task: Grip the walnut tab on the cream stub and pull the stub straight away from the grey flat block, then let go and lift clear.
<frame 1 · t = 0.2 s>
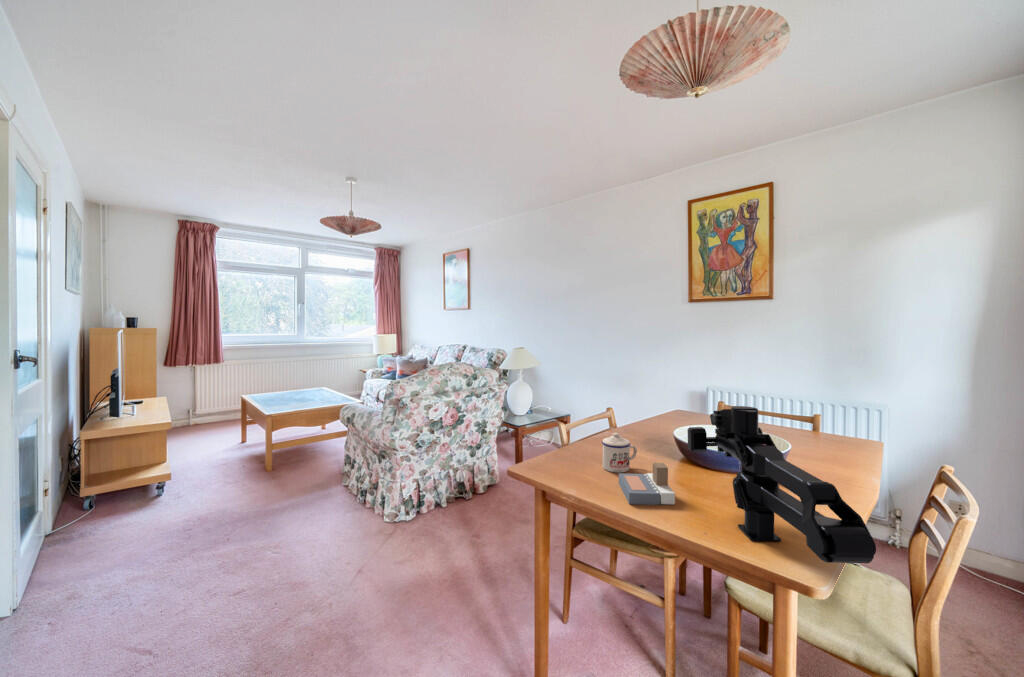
hand: (710, 431, 117), 17 cm above the table, tool horizontal, fingers open, 9 cm apart
grey flat block: (637, 493, 115), on the table
stub: (660, 479, 115), point 4 cm above the table, slide at 0.0 cm
soda can: (752, 474, 130), on the table
teacup with lid: (619, 468, 135), on the table
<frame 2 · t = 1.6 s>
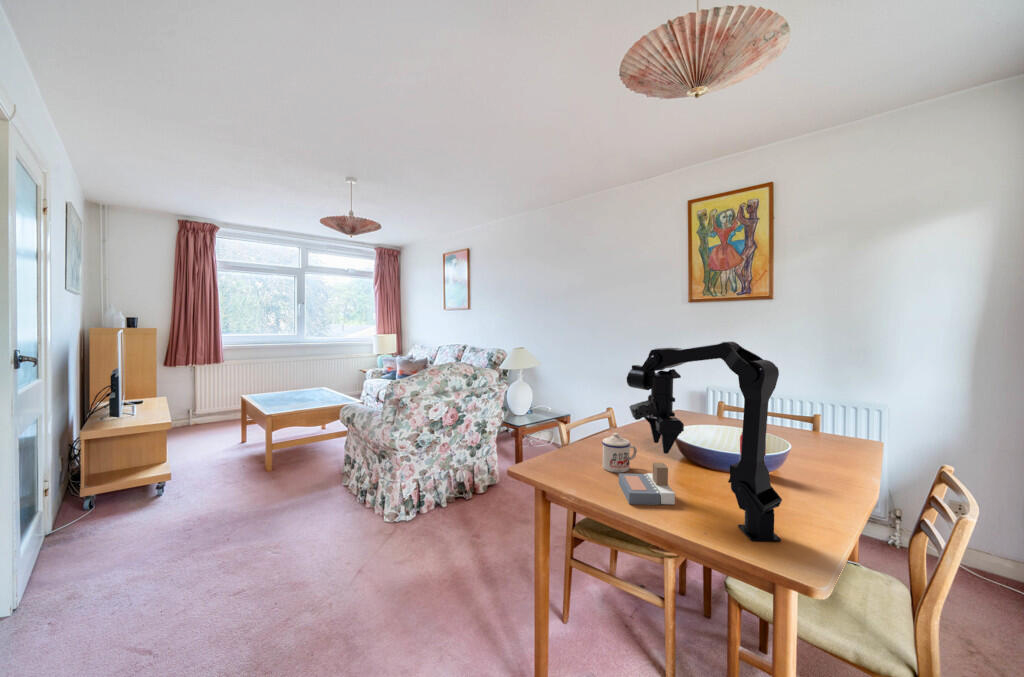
hand: (660, 447, 114), 13 cm above the table, tool pointing down, fingers open, 9 cm apart
nothing on the table moved.
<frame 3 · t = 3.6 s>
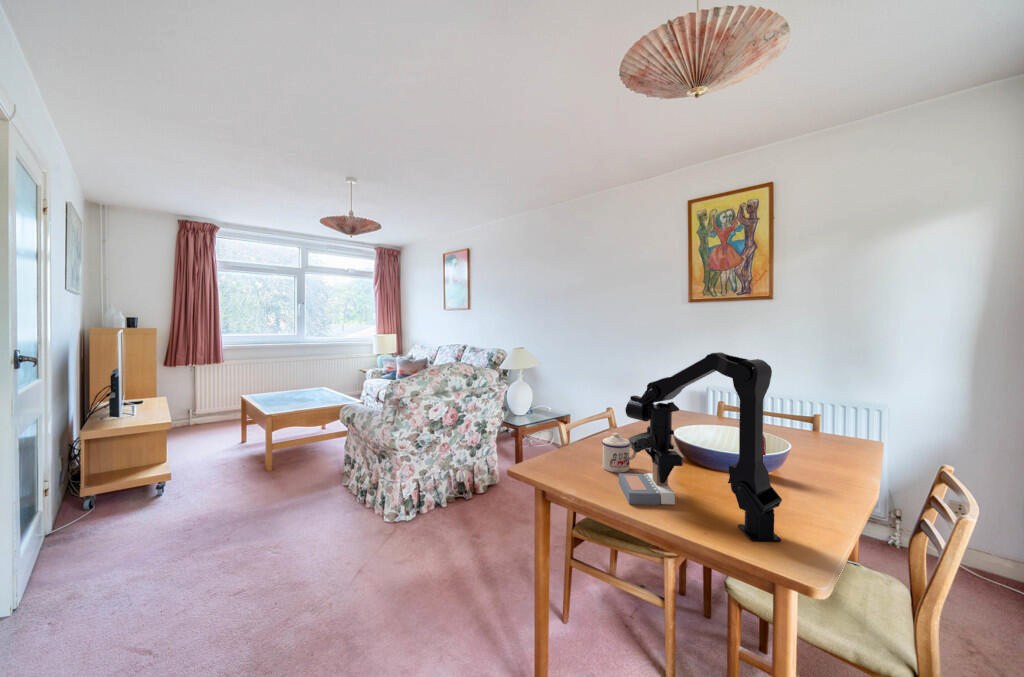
hand: (660, 479, 115), 4 cm above the table, tool pointing down, fingers closed on stub, 4 cm apart
stub: (660, 479, 115), point 4 cm above the table, slide at 0.0 cm, touching gripper
everything else where it was.
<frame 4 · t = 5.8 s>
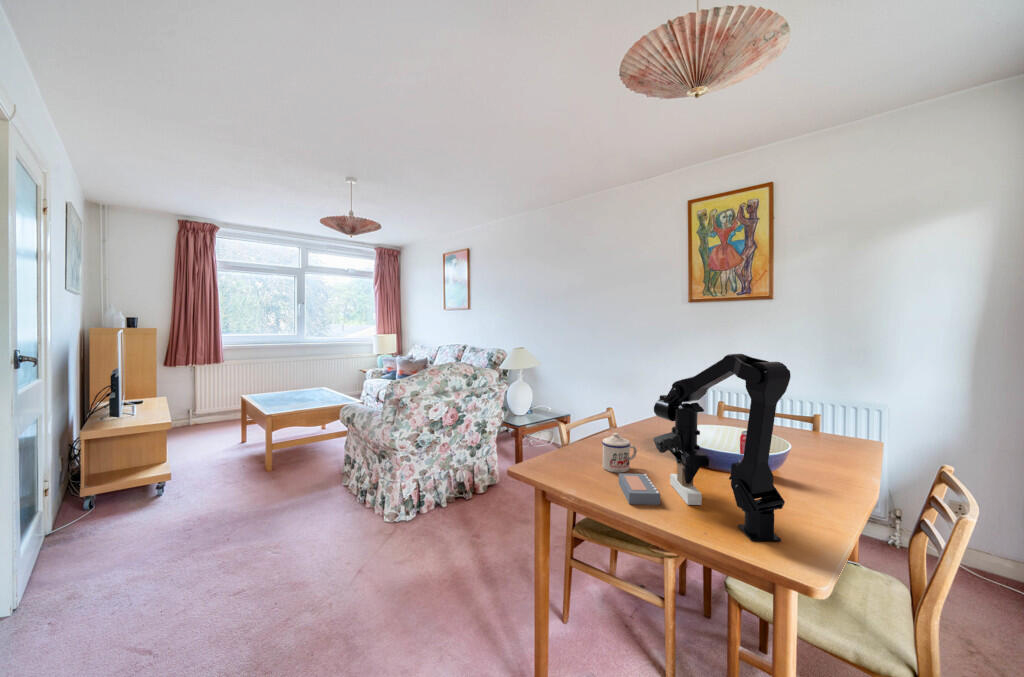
hand: (685, 480, 114), 4 cm above the table, tool pointing down, fingers closed on stub, 4 cm apart
stub: (685, 479, 114), point 4 cm above the table, slide at 6.9 cm, touching gripper
everything else where it was.
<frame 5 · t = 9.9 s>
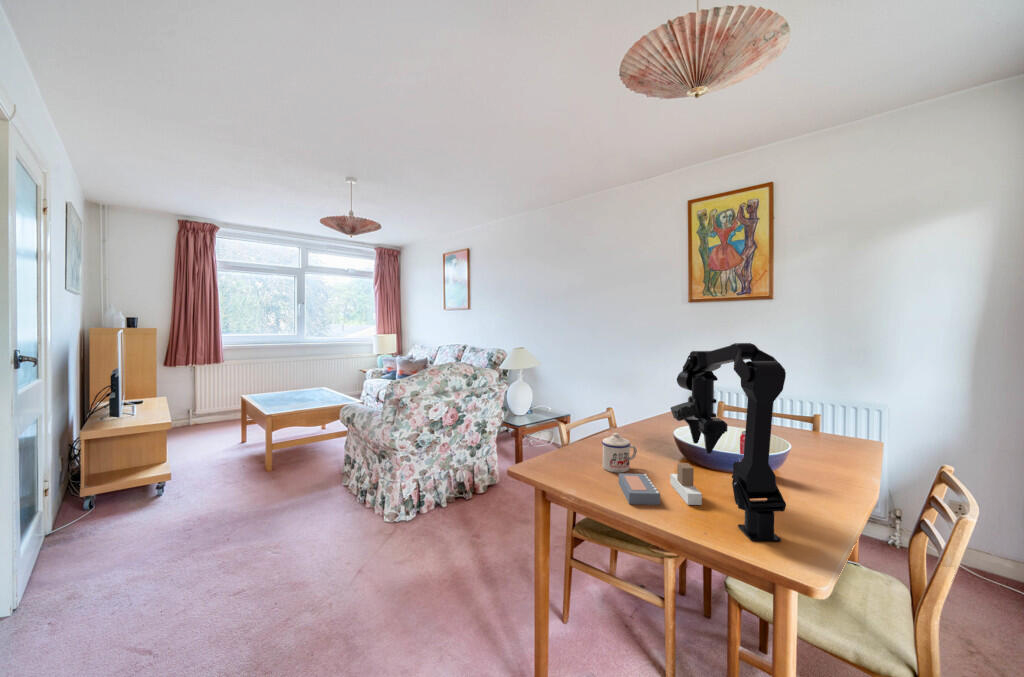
hand: (701, 448, 117), 12 cm above the table, tool pointing down, fingers open, 9 cm apart
stub: (685, 479, 114), point 4 cm above the table, slide at 6.9 cm
everything else where it was.
at the end: stub slide at 6.9 cm; the gripper is holding nothing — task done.
